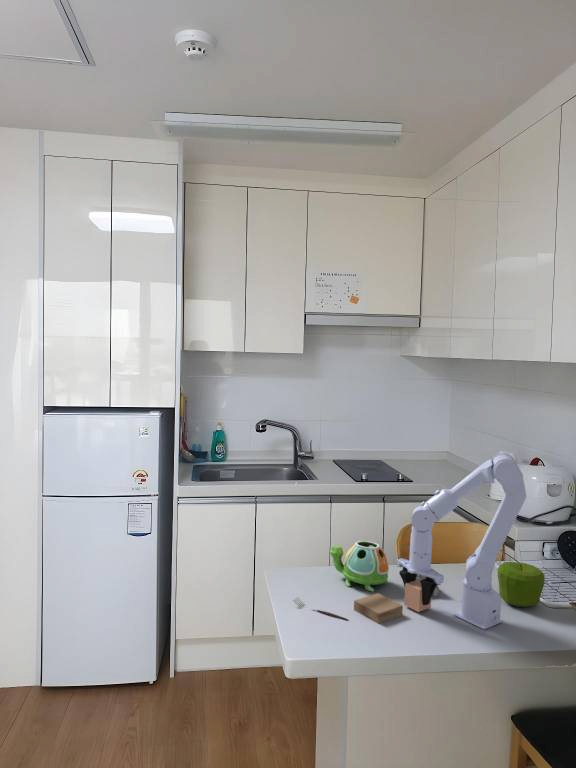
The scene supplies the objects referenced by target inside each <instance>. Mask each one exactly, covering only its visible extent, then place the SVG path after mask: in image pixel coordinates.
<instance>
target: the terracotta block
mask: <svg viewBox="0 0 576 768" xmlns="http://www.w3.org/2000/svg"><path fill="white" fill-rule="evenodd" d="M404 589H405V590H404V599H403V600H404V601H403V603H404V604H403V605H404V606H406V607H408V608H409V609H411V610H414V611H415V612H417V613H420V612H422V611H426V610H428V609H431V607H432V599H431V600H430V603H429V604H428V605H425V606H424V605H423V604H422V587H421V583H420V580H415V581H412V582H408V583H405V586H404Z"/></svg>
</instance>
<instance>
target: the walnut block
mask: <svg viewBox="0 0 576 768" xmlns="http://www.w3.org/2000/svg"><path fill="white" fill-rule="evenodd" d="M403 605H404V604H403ZM403 605H402V604H400V603H398V602H397V601H395V600H392V599H390V598H389V597H387V596H385V595H383V594H381V593H374V594H371V595H368V596H365V597H364V596H363V597H362V598H361V597H360V598H359V599H355V600H354V601H353V611H355V612H356V613H358V614H360V615H362V616H364V617H365V618H367V619H369V620H371V621H373V622H374V623H376V624H381V623H385V622H388V621H391V620H393V619H395V618H398V617H401V616H403V610H404V609H403V608H404V606H403Z"/></svg>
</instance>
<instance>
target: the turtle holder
mask: <svg viewBox="0 0 576 768" xmlns="http://www.w3.org/2000/svg"><path fill="white" fill-rule="evenodd" d="M370 546H372V547H370ZM329 553H330V555H331V557H332V562H333V565H334V568H335V569H336V571H338V572H339V573H341V574H342V575H343V576H344V577H345V586H346V587H349V588H350V587H352V582H354V583H356V584H357V583H358V584H361V585H364V589H365V590H366V591H368V592H375V589H374V587H373V586H374V585H375V586H376V585H382V584H385V585H386V584H387V583H388V582H387V580H388V579H389V575H388V574H389V563H388V560H387V556H386V553H385V551H384V549H383V548H382V547H381V546H380V544H379V543H376V542H373V541H368V540H358V541H356V542H355V543H354V544H353V546H352V547H350V548H349V549H348V550H347V552H346V553H345V557H344V560H343V561H342V557H343V556H344V551H343V547H342V546H341V545H332V547H331V549H330V551H329ZM372 585H373V586H372Z"/></svg>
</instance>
